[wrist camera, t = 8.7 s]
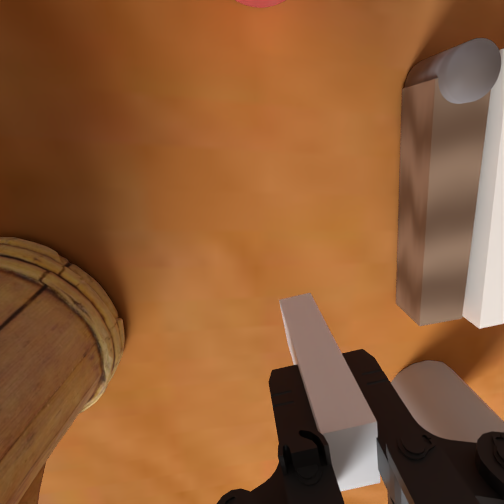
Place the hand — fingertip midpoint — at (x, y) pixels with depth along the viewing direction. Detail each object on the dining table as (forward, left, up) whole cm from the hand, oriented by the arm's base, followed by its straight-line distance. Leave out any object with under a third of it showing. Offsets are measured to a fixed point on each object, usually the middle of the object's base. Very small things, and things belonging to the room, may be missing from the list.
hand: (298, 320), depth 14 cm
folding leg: (-1, +15, -14) cm, 20 cm away
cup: (+23, +15, -14) cm, 31 cm away
